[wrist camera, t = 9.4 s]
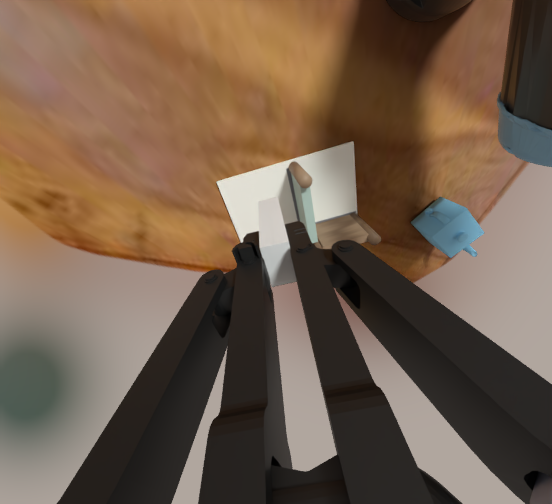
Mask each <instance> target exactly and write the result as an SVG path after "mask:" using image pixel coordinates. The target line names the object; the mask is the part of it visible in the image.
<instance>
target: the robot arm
mask: <svg viewBox="0 0 552 504" xmlns="http://www.w3.org/2000/svg"><path fill="white" fill-rule="evenodd" d="M386 1H387V2H388V4H389V5H390V6H391V7H392V8H393V10H394V11H396V12H397V13H398V14H399V15H401V16H402V17H404V18H406V19H408V20H412V21H416V22H427V21H432V20H436V19H439V18H441V17H444V16H446V15H448V14H450V13H452V12H454V11H456V10H458V9H460V8H461V7H463V6H465V5H466V4H468V3H469V2H471V1H472V0H386ZM497 106H498V108H499V123H498V139H499V142H500V144H501V145H502V147H503V148H504V149H505V150H506V151H508V152H509V153H511V154H514V155H515V156H516V157H517V158H519V159H522V160H524V161H527V162H530V163H534V164H538V165H543V166H549V167H552V0H513V3H512V11H511V19H510V27H509V35H508V42H507V50H506V58H505V66H504V74H503V82H502V90H501V92H500V93H499V95H498V98H497ZM258 213H259V231H256V232H252V233H248V234H246V236H245V237H244V238H243V242H242V243H239V244H238V245H236V246H235V247H234V248H233V250H232V252H233V255H234V257H235V260H236V262H237V268H235V269H234V270H232V271H230V272H228V273H225V274H224V273H223V271H221V270H211V271H209V272H207V273H205V274H204V275H202V277H201V278H200V279H199V280H198V282H197V284H196V285H195V287H194V288H193V290H192V292H191V293H190V295H189V296H188V298H187V299H186V301H185V302H184V304H183V306H182V307H181V309H180V310H179V312H178V314H177V315H176V317H175V318H174V320H173V321H172V323H171V325H170V326H169V328H168V329H167V331H166V333H165V334H164V336H163V337H162V339H161V340H160V342H159V344H158V345H157V347H156V348H155V350H154V352H153V353H152V355H151V356H150V358H149V359H148V361H147V363H146V364H145V366H144V367H143V369H142V371H141V372H140V374H139V375H138V377H137V378H136V380H135V382H134V383H133V385H132V386H131V388H130V390H129V391H128V393H127V394H126V396H125V397H124V399H123V401H122V402H121V404H120V405H119V407H118V409H117V410H116V412H115V413H114V415H113V417H112V418H111V420H110V421H109V423H108V424H107V426H106V428H105V429H104V431H103V432H102V434H101V435H100V437H99V439H98V440H97V442H96V443H95V445H94V447H93V448H92V450H91V451H90V453H89V454H88V456H87V458H86V459H85V461H84V462H83V464H82V466H81V467H80V469H79V470H78V472H77V473H76V475H75V477H74V478H73V480H72V481H71V483H70V485H69V486H68V488H67V489H66V491H65V492H64V494H63V496H62V497H61V499H60V500H59V501H58V503H57V504H171V503H172V500H173V498H174V495H175V492H176V489H177V486H178V484H179V481H180V478H181V475H182V472H183V469H184V467H185V464H186V461H187V458H188V455H189V453H190V450H191V447H192V444H193V441H194V439H195V436H196V433H197V430H198V427H199V424H200V421H201V419H202V416H203V413H204V410H205V407H206V405H207V402H208V399H209V396H210V393H211V391H212V388H213V385H214V382H215V379H216V377H217V373H218V371H219V368H220V365H221V362H222V360H223V357H224V354H225V351H226V348H227V346H228V348H227V357H226V365H225V375H224V383H223V392H222V401H221V408H220V413H219V415H218V416H217V417H216V418H215V419H214V420H213V421H212V424H211V426H210V430H209V434H208V439H207V446H206V453H205V460H204V467H203V474H202V481H201V488H200V495H199V502H198V504H462V503H461V502H460V501H459V500H458V499H457V498H455V497H454V496H453V495H452V494H451V493H450V492H449V491H448V490H447V489H446V488H445V487H443V486H442V485H441V484H440V483H439V482H438V481H436V480H435V479H434V478H433V477H431V476H430V475H428V474H427V473H426V472H424V471H423V470H421V469H419V468H418V467H417V465H416V462H415V460H414V458H413V456H412V454H411V451H410V449H409V447H408V444H407V443H406V440H405V438H404V436H403V433H402V431H401V429H400V427H399V425H398V422H397V420H396V418H395V416H394V413H393V411H392V409H391V407H390V404H389V402H388V400H387V398H386V396H385V394H384V393H383V392H382V390H381V388H379V387H378V386H376V384H375V383H374V381H373V379H372V377H371V374H370V372H369V370H368V367H367V365H366V363H365V360H364V358H363V356H362V353H361V351H360V349H359V346H358V344H357V342H356V339H355V337H354V335H353V332H352V330H351V328H350V325H349V323H348V321H347V318H346V316H345V314H344V311H343V309H342V307H341V305H340V302H339V300H338V298H337V295H336V293H335V290H334V288H336V291H337V292H338V293H339V294H340V296H341V297H342V298H343V299H344V300H345V301H346V302H347V304H348V305H349V306H350V307H351V309H352V310H353V311H354V312H355V313H356V314H357V316H358V317H359V318H360V319H361V320H362V321H363V323H364V324H365V325H366V326H367V327H368V329H369V330H370V331H371V332H372V333H373V334H374V336H375V337H376V338H377V339H378V340H379V342H381V344H382V345H383V346H384V347H385V349H386V350H387V351H388V352H389V353H390V354H391V356H392V357H393V358H394V359H395V360H396V361H397V363H398V364H399V365H400V366H401V367H402V369H403V370H404V371H405V372H406V373H407V374H408V376H409V377H410V378H411V379H412V380H413V382H414V383H415V384H416V385H417V386H418V387H419V389H420V390H421V391H422V392H423V393H424V394H425V396H426V397H427V398H428V399H429V400H430V402H431V403H432V404H433V405H434V406H435V408H436V409H437V410H438V411H439V412H440V413H441V415H442V416H443V417H444V418H445V419H446V420H447V422H448V423H449V424H450V425H451V426H452V427H453V428H454V430H455V431H456V432H457V433H458V435H459V436H460V437H461V438H462V439H463V440H464V442H465V443H466V444H467V445H468V446H469V447H470V449H471V450H472V451H473V452H474V453H475V454H476V455H477V456H478V457H479V459H480V460H481V461H482V462H483V463H484V464H485V465H486V466H487V467H488V468H489V469H490V471H491V472H492V473H494V474H495V475H496V476H497V477H498V478H499V479H500V480H501V481H502V482H503V483H504V484H505V485H506V486H507V487H508V488H509V489H510V490H511V491H512V492H513V493H514V494H515V495H516V496H517V497H519V498H520V499H521V500H522V501H523V502H525V504H552V384H550V383H549V382H548V381H546V380H545V379H544V378H542V377H541V376H539V375H538V374H537V373H535V372H534V371H533V370H531V369H530V368H529V367H527V366H526V365H524V364H523V363H522V362H520V361H519V360H518V359H516V358H515V357H513V356H512V355H511V354H509V353H508V352H507V351H505V350H504V349H502V348H501V347H500V346H498V345H497V344H496V343H494V342H493V341H492V340H490V339H489V338H487V337H486V336H485V335H483V334H482V333H481V332H479V331H478V330H476V329H475V328H473V327H472V326H471V325H470V324H468V323H467V322H466V321H464V320H462V319H461V318H460V317H459V316H457V315H456V314H454V313H453V312H452V311H450V310H449V309H448V308H446V307H445V306H444V305H442V304H441V303H439V302H438V301H437V300H435V299H434V298H433V297H431V296H430V295H429V294H427V293H426V292H424V291H423V290H422V289H420V288H419V287H418V286H416V285H415V284H413V283H412V282H411V281H409V280H408V279H407V278H405V277H404V276H403V275H401V274H400V273H398V272H397V271H396V270H394V269H393V268H392V267H390V266H389V265H387V264H386V263H385V262H383V261H382V260H381V259H379V258H378V257H376V256H375V255H374V254H372V253H371V252H370V251H368V250H367V249H366V248H364V247H363V246H361V245H360V244H359V243H357V242H355V241H353V240H341V241H337V242H336V243H334V244H333V245H332V248H331V249H320V248H317V247H316V246H315V245H314V244H313V243H312V242H311V240H310V237H309V235H308V232H307V230H306V228H305V225H304V223H302V222H300V221H296V222H292V223H288V224H284V220H283V216H282V212H281V208H280V204H279V200H278V197H274V198H270V199H266V200H262V201H258ZM293 282H297V284H298V289H299V293H300V297H301V302H302V306H303V310H304V314H305V318H306V323H307V327H308V331H309V336H310V340H311V344H312V349H313V353H314V357H315V361H316V365H317V370H318V374H319V378H320V382H321V387H322V391H323V395H324V400H325V404H326V408H327V413H328V417H329V421H330V425H331V430H332V434H333V439H334V443H335V447H336V451H337V455H336V456H334V457H332V458H331V459H329V460H327V461H326V462H324V463H322V464H320V465H319V466H317V467H315V468H313V469H312V470H310V471H307V472H304V471H298V470H293V469H292V462H291V455H290V450H289V446H288V442H287V434H286V425H285V415H284V405H283V394H282V384H281V375H280V374H281V373H280V364H279V353H278V343H277V332H276V322H275V312H274V301H273V293H272V290H271V286H272V287H275V286H279V285H284V284H288V283H293ZM270 283H271V285H270Z"/></svg>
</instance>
